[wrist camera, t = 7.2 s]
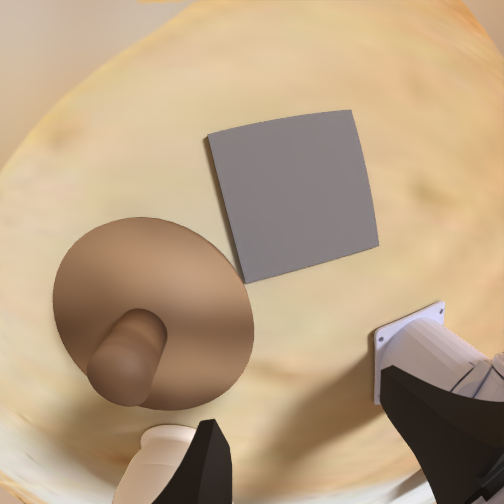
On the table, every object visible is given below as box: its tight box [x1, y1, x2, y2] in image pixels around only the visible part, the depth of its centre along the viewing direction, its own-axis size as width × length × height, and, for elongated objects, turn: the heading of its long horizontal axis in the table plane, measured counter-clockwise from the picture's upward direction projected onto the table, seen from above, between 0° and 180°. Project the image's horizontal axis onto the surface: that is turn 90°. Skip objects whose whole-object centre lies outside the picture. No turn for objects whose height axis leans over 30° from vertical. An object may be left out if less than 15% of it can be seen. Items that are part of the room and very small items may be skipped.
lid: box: [53, 217, 254, 410], centre depth 12 cm, size 12×12×6 cm
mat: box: [207, 110, 379, 283], centre depth 18 cm, size 10×10×1 cm
